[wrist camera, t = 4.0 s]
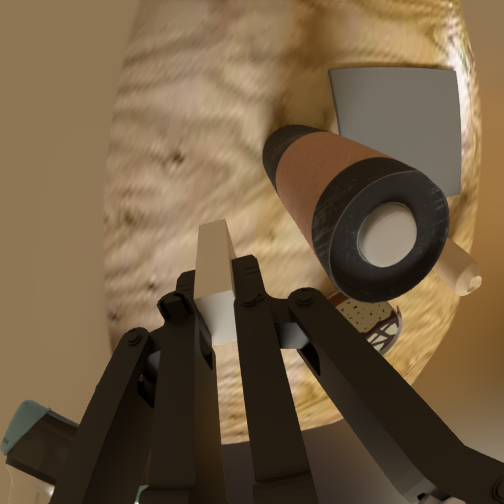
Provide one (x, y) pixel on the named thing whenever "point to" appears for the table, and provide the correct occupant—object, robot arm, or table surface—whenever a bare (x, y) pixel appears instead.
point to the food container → (371, 320)
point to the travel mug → (358, 211)
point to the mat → (404, 117)
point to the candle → (458, 269)
